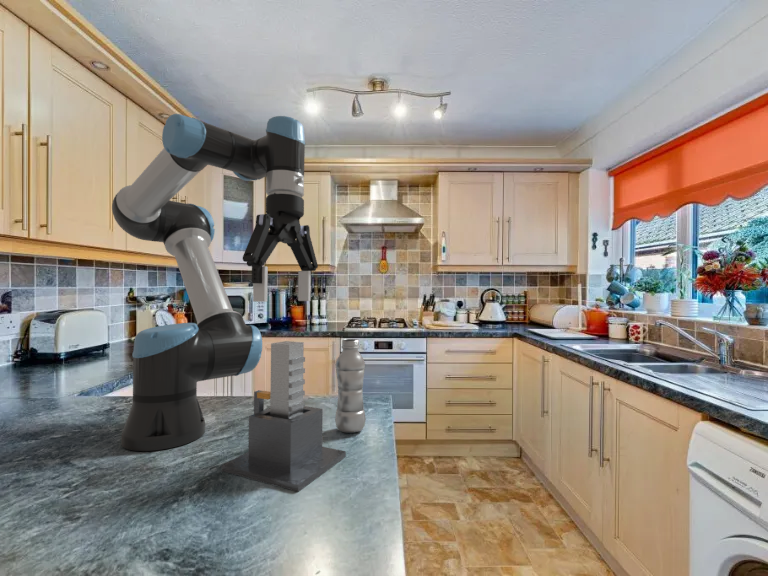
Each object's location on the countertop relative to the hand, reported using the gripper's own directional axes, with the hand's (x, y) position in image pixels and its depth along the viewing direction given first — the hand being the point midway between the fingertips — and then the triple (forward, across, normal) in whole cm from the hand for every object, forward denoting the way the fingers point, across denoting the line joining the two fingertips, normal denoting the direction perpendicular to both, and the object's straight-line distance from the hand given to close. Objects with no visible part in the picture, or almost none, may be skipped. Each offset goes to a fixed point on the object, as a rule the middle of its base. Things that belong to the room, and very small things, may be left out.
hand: (284, 301), depth 77 cm
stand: (+28, -7, -7) cm, 30 cm away
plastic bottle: (+29, +12, -9) cm, 32 cm away
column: (+27, -7, -7) cm, 29 cm away
